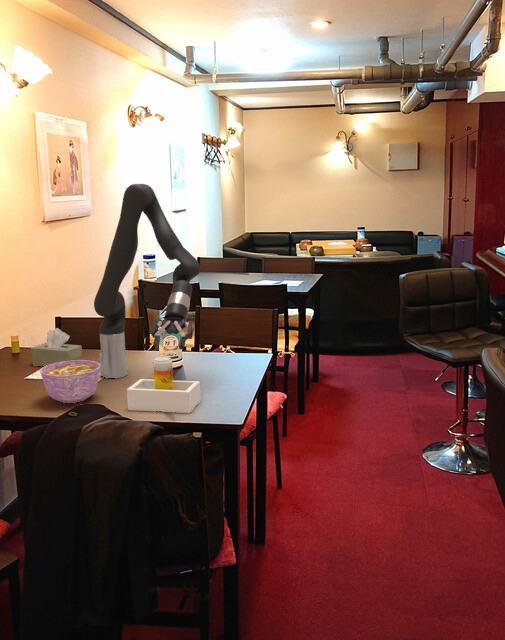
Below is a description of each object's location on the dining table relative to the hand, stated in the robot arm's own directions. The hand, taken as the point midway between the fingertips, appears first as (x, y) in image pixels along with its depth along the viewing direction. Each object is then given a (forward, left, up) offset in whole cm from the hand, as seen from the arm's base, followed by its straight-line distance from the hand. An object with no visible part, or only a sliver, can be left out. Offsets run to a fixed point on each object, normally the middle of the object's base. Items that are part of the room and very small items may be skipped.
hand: (168, 347), depth 214 cm
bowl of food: (-33, -5, -18) cm, 38 cm away
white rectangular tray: (0, -6, -18) cm, 19 cm away
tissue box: (-62, +37, -19) cm, 74 cm away
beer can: (0, -6, -17) cm, 18 cm away
